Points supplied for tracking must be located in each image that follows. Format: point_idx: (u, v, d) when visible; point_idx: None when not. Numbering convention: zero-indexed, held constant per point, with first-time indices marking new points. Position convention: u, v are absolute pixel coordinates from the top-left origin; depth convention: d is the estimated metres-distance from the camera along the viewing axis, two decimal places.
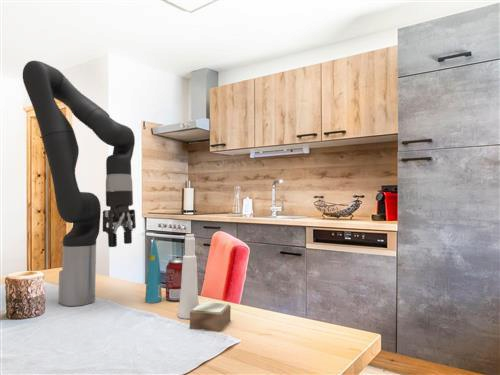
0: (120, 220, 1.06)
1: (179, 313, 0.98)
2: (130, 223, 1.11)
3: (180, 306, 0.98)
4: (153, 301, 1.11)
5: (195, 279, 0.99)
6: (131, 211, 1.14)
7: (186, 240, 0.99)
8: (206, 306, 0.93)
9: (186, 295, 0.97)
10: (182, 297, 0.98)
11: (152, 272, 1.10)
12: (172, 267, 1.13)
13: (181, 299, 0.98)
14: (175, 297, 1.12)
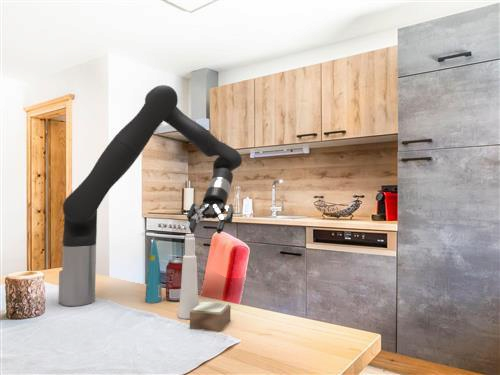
0: None
1: (179, 313, 0.98)
2: (202, 219, 1.17)
3: (180, 306, 0.98)
4: (153, 301, 1.11)
5: (195, 279, 0.99)
6: None
7: (186, 240, 0.99)
8: (206, 306, 0.93)
9: (186, 295, 0.97)
10: (182, 297, 0.98)
11: (152, 272, 1.10)
12: (172, 267, 1.13)
13: (181, 299, 0.98)
14: (175, 297, 1.12)
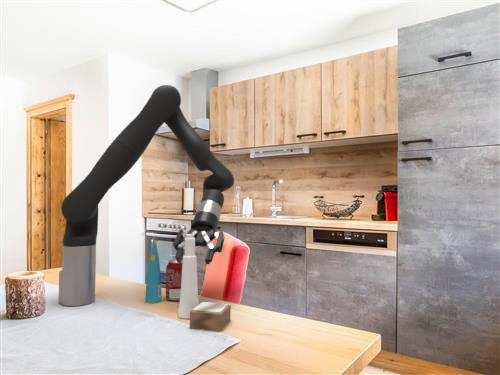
0: None
1: (179, 313, 0.98)
2: None
3: (180, 306, 0.98)
4: (153, 301, 1.11)
5: (195, 279, 0.99)
6: None
7: (186, 240, 0.99)
8: (206, 306, 0.93)
9: (186, 295, 0.97)
10: (182, 297, 0.98)
11: (152, 272, 1.10)
12: (172, 267, 1.13)
13: (181, 299, 0.98)
14: (175, 297, 1.12)
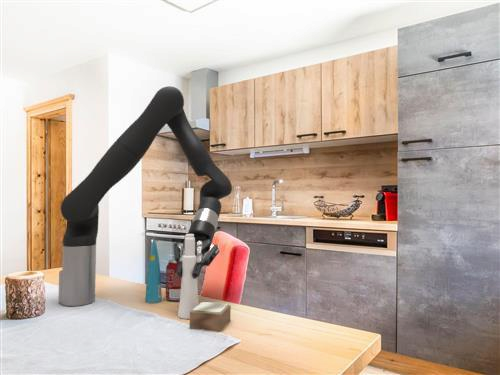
0: None
1: (179, 313, 0.98)
2: None
3: (180, 306, 0.98)
4: (153, 301, 1.11)
5: (195, 279, 0.99)
6: None
7: (186, 240, 0.99)
8: (206, 306, 0.93)
9: (186, 295, 0.97)
10: (182, 297, 0.98)
11: (152, 272, 1.10)
12: (172, 267, 1.13)
13: (181, 299, 0.98)
14: (175, 297, 1.12)
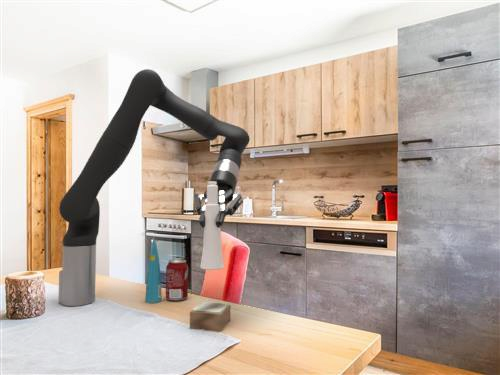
0: None
1: (202, 264, 0.92)
2: None
3: (203, 257, 0.92)
4: (153, 301, 1.11)
5: (219, 228, 0.93)
6: None
7: (209, 187, 0.93)
8: (206, 306, 0.93)
9: (210, 244, 0.92)
10: (205, 247, 0.92)
11: (152, 272, 1.10)
12: (172, 267, 1.13)
13: (204, 249, 0.93)
14: (175, 297, 1.12)
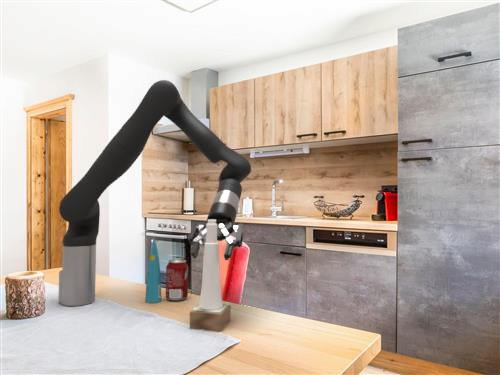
0: None
1: (201, 304, 0.92)
2: None
3: (202, 296, 0.92)
4: (153, 301, 1.11)
5: (217, 267, 0.92)
6: None
7: (208, 226, 0.93)
8: None
9: (209, 284, 0.91)
10: (204, 287, 0.92)
11: (152, 272, 1.10)
12: (172, 267, 1.13)
13: (203, 289, 0.92)
14: (175, 297, 1.12)
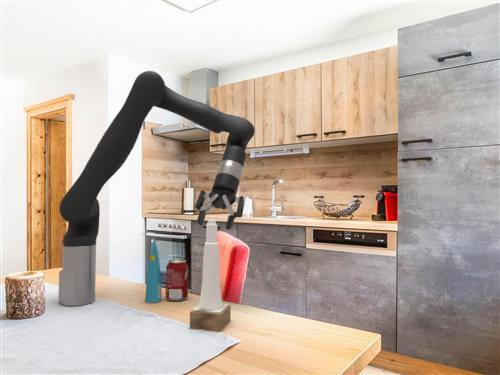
0: None
1: (200, 304, 0.92)
2: None
3: (202, 296, 0.92)
4: (153, 301, 1.11)
5: (217, 267, 0.92)
6: None
7: (208, 226, 0.93)
8: None
9: (209, 284, 0.91)
10: (204, 287, 0.92)
11: (152, 272, 1.10)
12: (172, 267, 1.13)
13: (203, 289, 0.92)
14: (175, 297, 1.12)
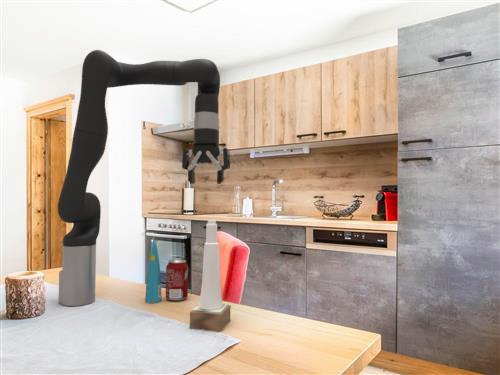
0: None
1: (200, 304, 0.92)
2: None
3: (202, 296, 0.92)
4: (153, 301, 1.11)
5: (217, 267, 0.92)
6: None
7: (208, 226, 0.93)
8: None
9: (209, 284, 0.91)
10: (204, 287, 0.92)
11: (152, 272, 1.10)
12: (172, 267, 1.13)
13: (203, 289, 0.92)
14: (175, 297, 1.12)
